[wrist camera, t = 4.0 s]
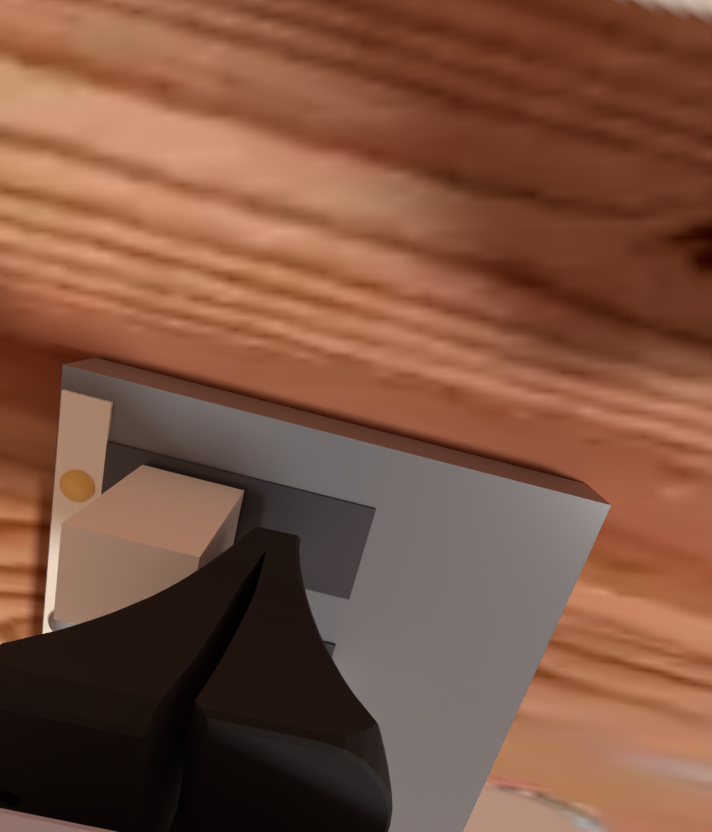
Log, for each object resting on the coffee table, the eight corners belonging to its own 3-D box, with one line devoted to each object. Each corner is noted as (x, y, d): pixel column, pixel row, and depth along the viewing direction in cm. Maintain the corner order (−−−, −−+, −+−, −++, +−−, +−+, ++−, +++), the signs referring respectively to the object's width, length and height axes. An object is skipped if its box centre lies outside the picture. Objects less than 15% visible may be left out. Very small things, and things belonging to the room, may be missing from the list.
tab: (244, 490, 13) (199, 557, 9) (229, 563, 13) (182, 650, 10) (142, 464, 13) (62, 523, 9) (132, 539, 13) (53, 619, 10)
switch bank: (586, 484, 14) (614, 508, 13) (431, 844, 19) (436, 895, 17) (95, 357, 14) (58, 365, 12) (56, 758, 18) (24, 803, 16)
